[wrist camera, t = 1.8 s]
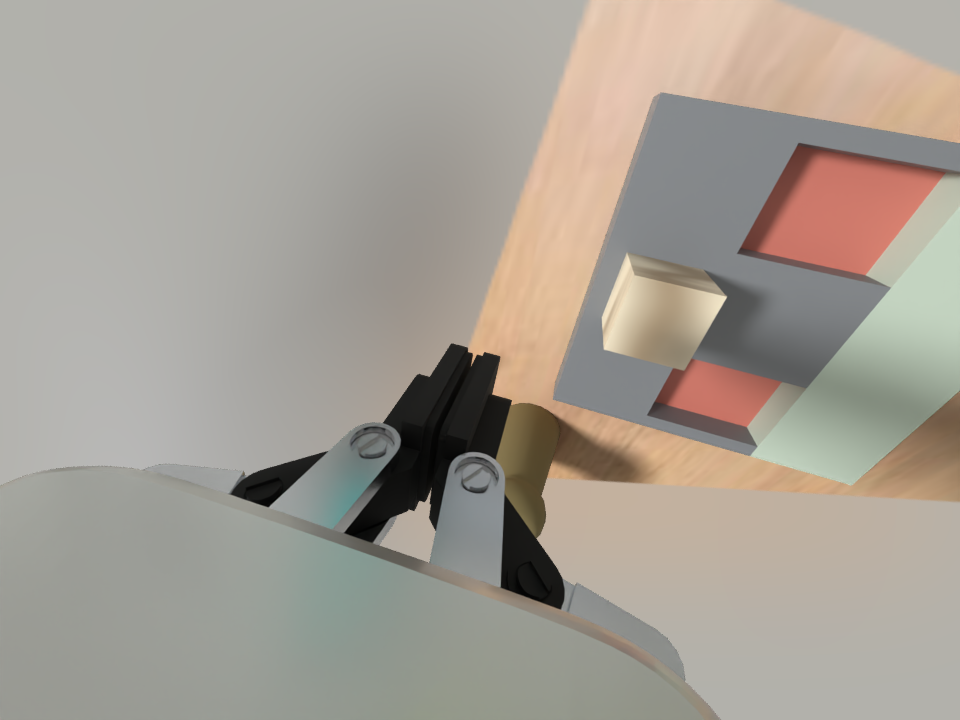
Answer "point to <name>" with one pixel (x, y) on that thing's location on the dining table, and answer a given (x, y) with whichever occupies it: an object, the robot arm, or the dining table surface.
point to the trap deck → (786, 285)
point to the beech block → (659, 311)
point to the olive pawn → (528, 460)
